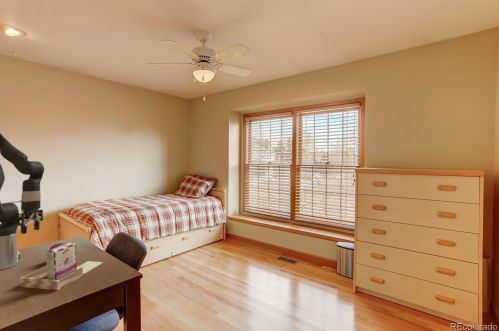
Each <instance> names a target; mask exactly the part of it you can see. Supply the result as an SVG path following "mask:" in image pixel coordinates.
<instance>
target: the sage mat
mask: <svg viewBox="0 0 499 331" xmlns="http://www.w3.org/2000/svg"><path fill="white" fill-rule="evenodd" d="M102 264H104V262H103V261H90V260H87V261H85V262H84V263H81V264H80V265H78V266H76V269H79V268H81V267H82V268H83V275H86V274H87V273H88V272H90V271H91V270H94V269H95V268H97V267H99V266H100V265H102Z"/></svg>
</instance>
